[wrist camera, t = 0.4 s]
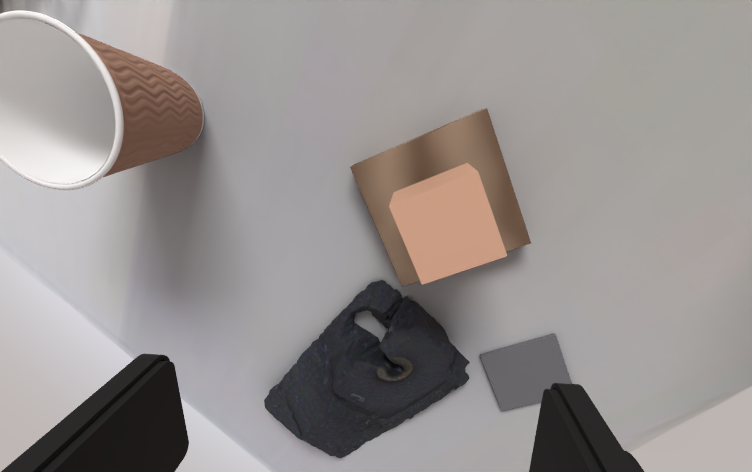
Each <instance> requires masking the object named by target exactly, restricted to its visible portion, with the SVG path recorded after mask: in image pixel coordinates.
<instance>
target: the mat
mask: <svg viewBox="0 0 752 472" xmlns="http://www.w3.org/2000/svg"><path fill="white" fill-rule="evenodd" d="M480 357H481V360H482V362H483V365H484V367H485V370H486V373H487V375H488V378H489V380H490V383H491V385H492V388H493V390H494V393H495V395H496V398H497V400H498V403H499V405H500V408H501V410H502V411H505V410H509V409H513V408H517V407H522V406H526V405H530V404H534V403H538V402H542V397H543V392H544V390H545V389H551V386H552V384H553V383H564V384H572V383H571V380H570V377H569V374H568V371H567V368H566V365H565V362H564V359H563V356H562V353H561V350H560V347H559V344H558V341H557V338H556V335H555V334H551V335H548V336H544V337H541V338H537V339H534V340H530V341H526V342H523V343H519V344H516V345H512V346H509V347H505V348H502V349H498V350H494V351H491V352H487V353H484V354H480Z"/></svg>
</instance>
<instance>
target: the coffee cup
mask: <svg viewBox="0 0 752 472" xmlns="http://www.w3.org/2000/svg"><path fill="white" fill-rule="evenodd" d="M37 20H38V21H37ZM40 21H42V22H40ZM43 22H45V23H43ZM203 124H204V111H203V106H202V103H201V100H200V98H199V96H198V94H197V93H196V91H195V89H194V88H193V87H192V86H191V85H190V84H189V83H188V82H187V81H186V80H185V79H184V78H182V77H180V76H179V75H177V74H176V73H173V72H172V71H171V70H169V69H166V68H164V67H161V66H159V65H156V64H154V63H152V62H149V61H146V60H144V59H141V58H139V57H137V56H134V55H132V54H129V53H127V52H124V51H122V50H119V49H116V48H114V47H112V46H109V45H107V44H104V43H102V42H99V41H97V40H95V39H92V38H90V37H87V36H85V35H82V34H79V33H77V32H75V31H73V30H72V29H70V28H69V27H68V26H66V25H64V24H63V23H61V22H59V21H58V20H56V19H53V18H51V17H49V16H46V15H43V14H40V13H36V12H31V11H10V12H5V13H1V14H0V160H1V161H2V162H4V163H5V164H6V165H7V166H8V167H9V168H11V169H12V170H13V171H15V172H16V173H17V174H19V175H20V176H22V177H24V178H25V179H27V180H29V181H31V182H34V183H36V184H38V185H41V186H44V187H48V188H53V189H59V190H74V189H80V188H84V187H87V186H89V185H91V184H93V183H95V182H97V181H98V180H100V179H101V178H102V177H105V176H108V175H111V174H114V173H117V172H120V171H123V170H126V169H129V168H132V167H135V166H138V165H141V164H144V163H147V162H151V161H154V160H157V159H160V158H163V157H166V156H168V155H172V154H175V153H178V152H180V151H183V150H184V149H186V148H187V147H189V146H190V145H192V144H193V143H194V142H195V141H196V140H197V139H198V137H199V136H200V134H201V132H202V129H203ZM80 181H81V182H80ZM77 182H78V183H77ZM69 183H72V184H69Z"/></svg>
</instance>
